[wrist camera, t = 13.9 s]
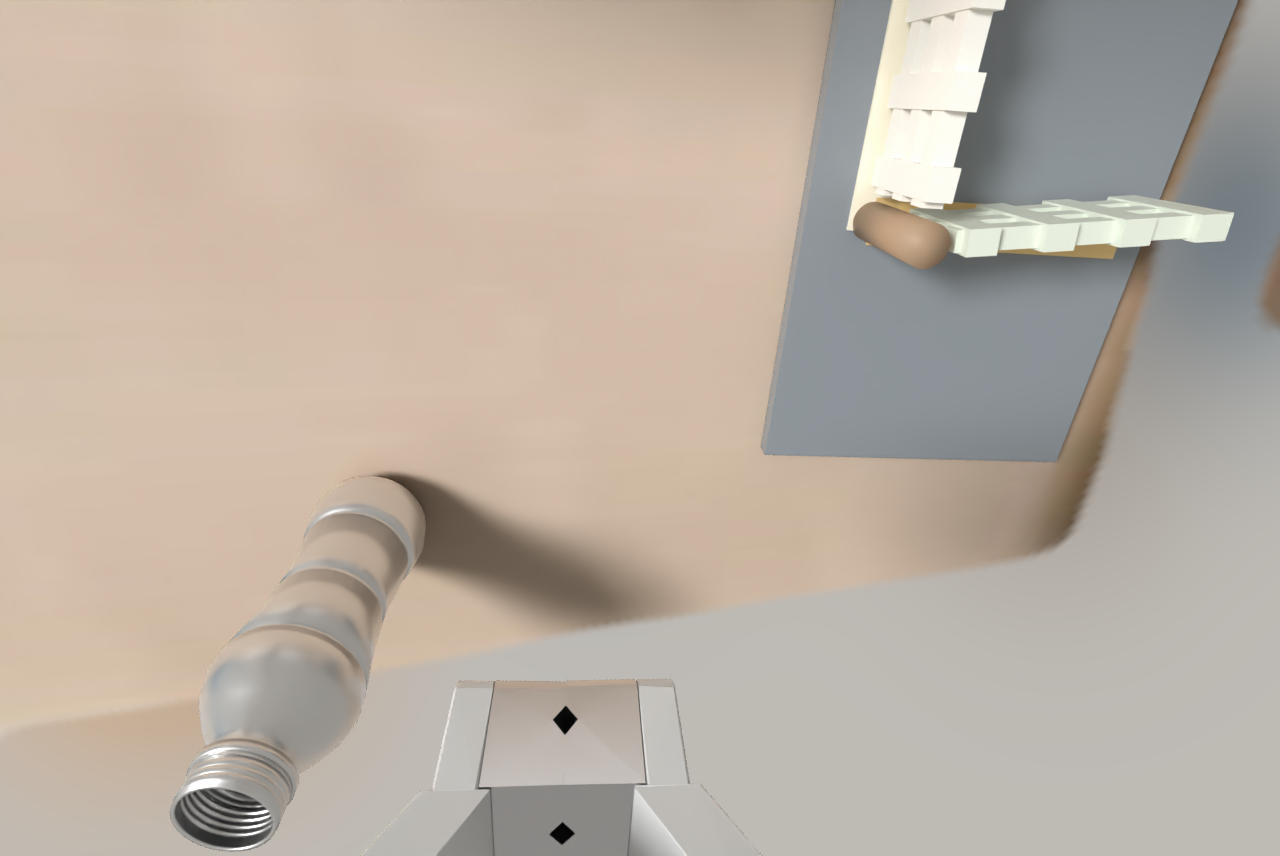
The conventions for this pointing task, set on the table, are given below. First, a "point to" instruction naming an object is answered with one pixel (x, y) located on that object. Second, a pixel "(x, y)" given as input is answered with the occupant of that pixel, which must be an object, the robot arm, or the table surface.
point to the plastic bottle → (298, 665)
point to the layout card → (991, 173)
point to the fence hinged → (1076, 224)
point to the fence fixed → (927, 127)
